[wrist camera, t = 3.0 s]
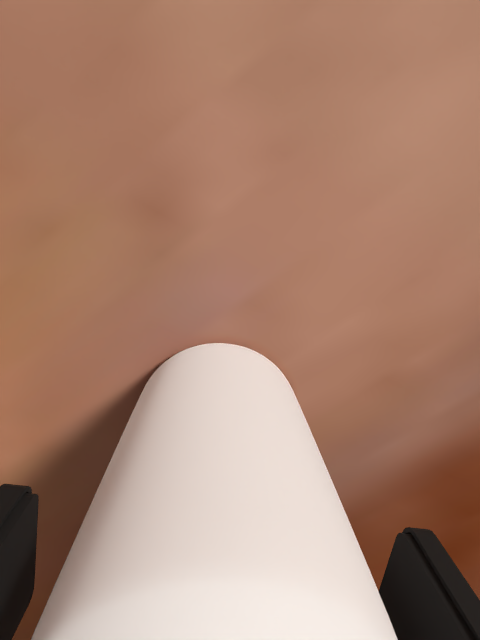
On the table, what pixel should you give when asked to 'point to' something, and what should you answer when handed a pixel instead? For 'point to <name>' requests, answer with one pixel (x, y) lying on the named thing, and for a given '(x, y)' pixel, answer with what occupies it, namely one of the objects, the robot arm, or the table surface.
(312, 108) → the table surface
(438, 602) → the robot arm
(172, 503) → the can
